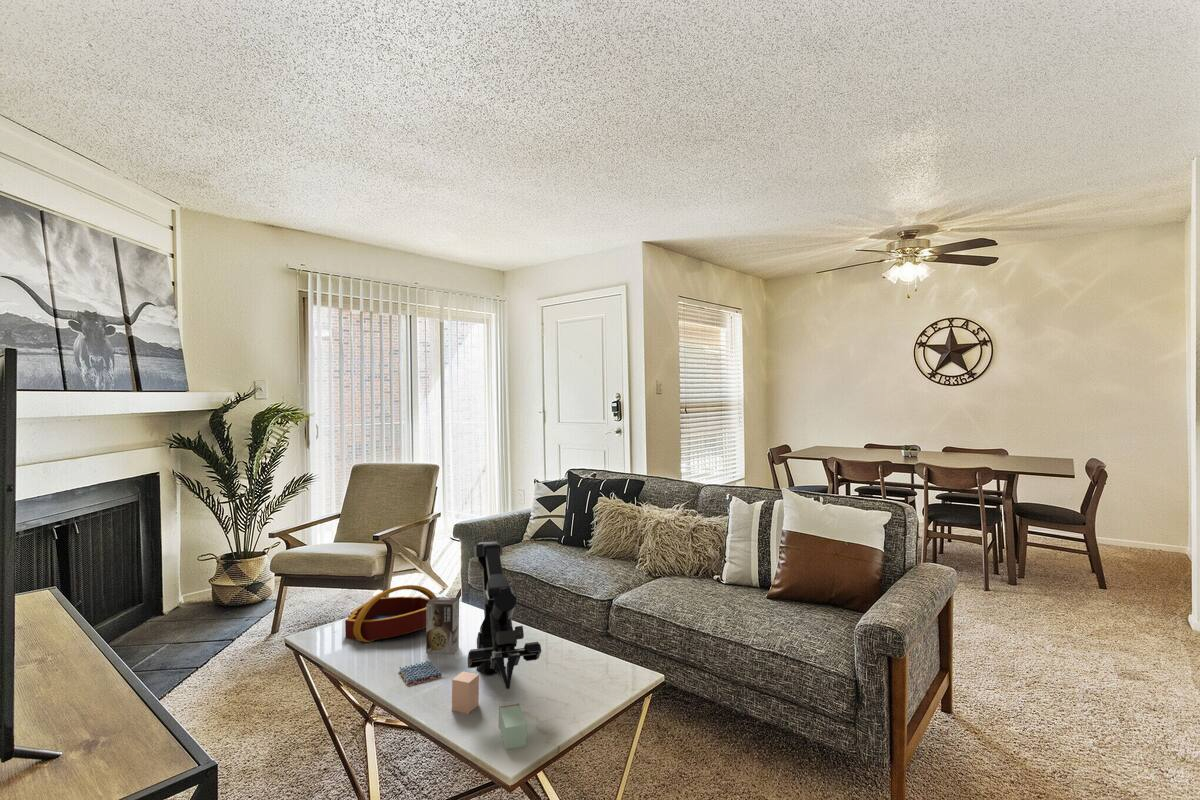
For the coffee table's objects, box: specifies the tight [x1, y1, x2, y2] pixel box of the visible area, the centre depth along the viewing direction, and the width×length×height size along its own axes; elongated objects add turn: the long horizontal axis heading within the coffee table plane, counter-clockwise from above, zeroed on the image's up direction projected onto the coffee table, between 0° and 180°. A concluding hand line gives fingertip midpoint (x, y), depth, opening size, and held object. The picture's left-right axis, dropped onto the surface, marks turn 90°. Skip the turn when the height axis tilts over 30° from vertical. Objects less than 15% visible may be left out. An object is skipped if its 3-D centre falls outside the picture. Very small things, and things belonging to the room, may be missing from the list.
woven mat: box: [398, 660, 443, 687], centre depth 170 cm, size 10×11×2 cm
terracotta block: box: [451, 671, 480, 715], centre depth 152 cm, size 5×5×8 cm
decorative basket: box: [344, 584, 437, 643], centre depth 206 cm, size 34×29×15 cm
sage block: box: [498, 703, 528, 750], centre depth 139 cm, size 5×5×10 cm
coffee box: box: [425, 596, 460, 655], centre depth 188 cm, size 9×6×16 cm
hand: (507, 688), depth 146 cm, fingers closed
